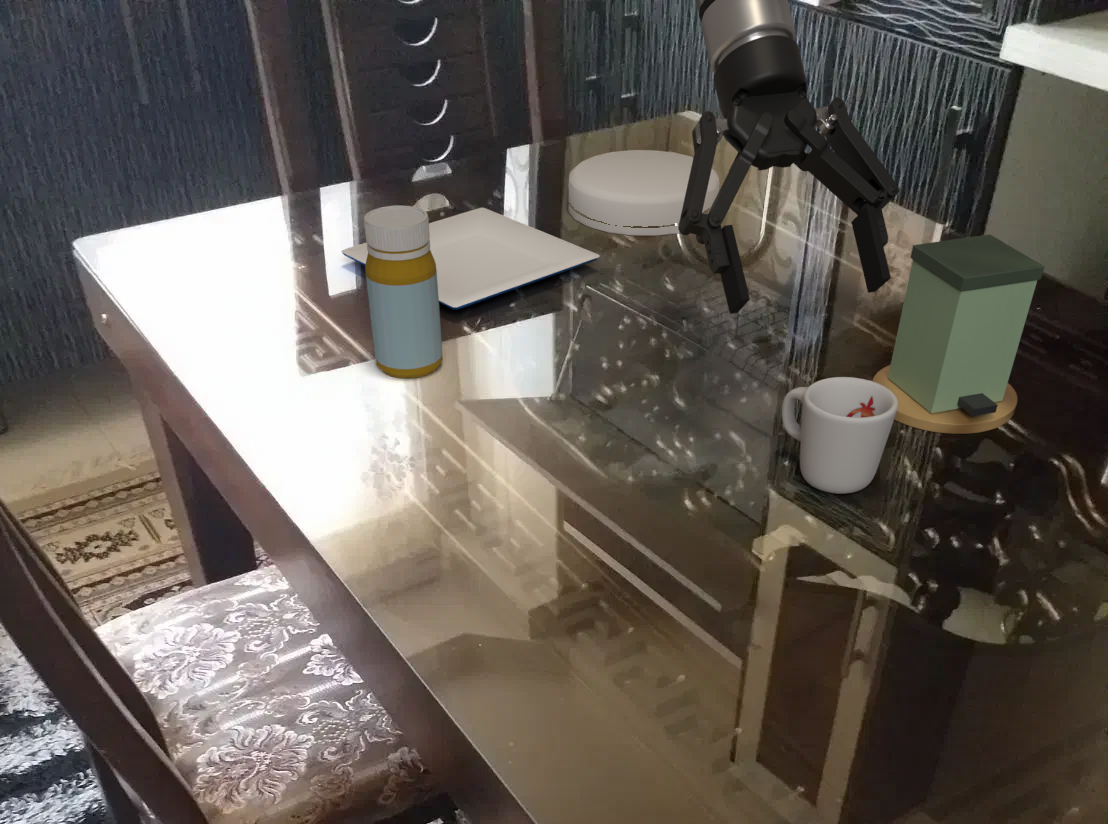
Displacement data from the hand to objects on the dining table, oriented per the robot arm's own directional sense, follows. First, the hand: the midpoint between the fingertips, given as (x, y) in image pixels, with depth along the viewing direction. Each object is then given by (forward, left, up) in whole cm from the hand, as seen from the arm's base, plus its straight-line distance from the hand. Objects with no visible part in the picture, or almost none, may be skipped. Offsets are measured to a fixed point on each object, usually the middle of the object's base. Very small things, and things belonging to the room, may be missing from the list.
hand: (810, 296), depth 100 cm
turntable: (-17, -5, -13) cm, 22 cm away
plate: (+26, -46, -14) cm, 54 cm away
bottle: (+35, -21, -14) cm, 43 cm away
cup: (-1, +7, -14) cm, 15 cm away
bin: (-17, -4, -12) cm, 22 cm away
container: (+1, -63, -14) cm, 64 cm away
